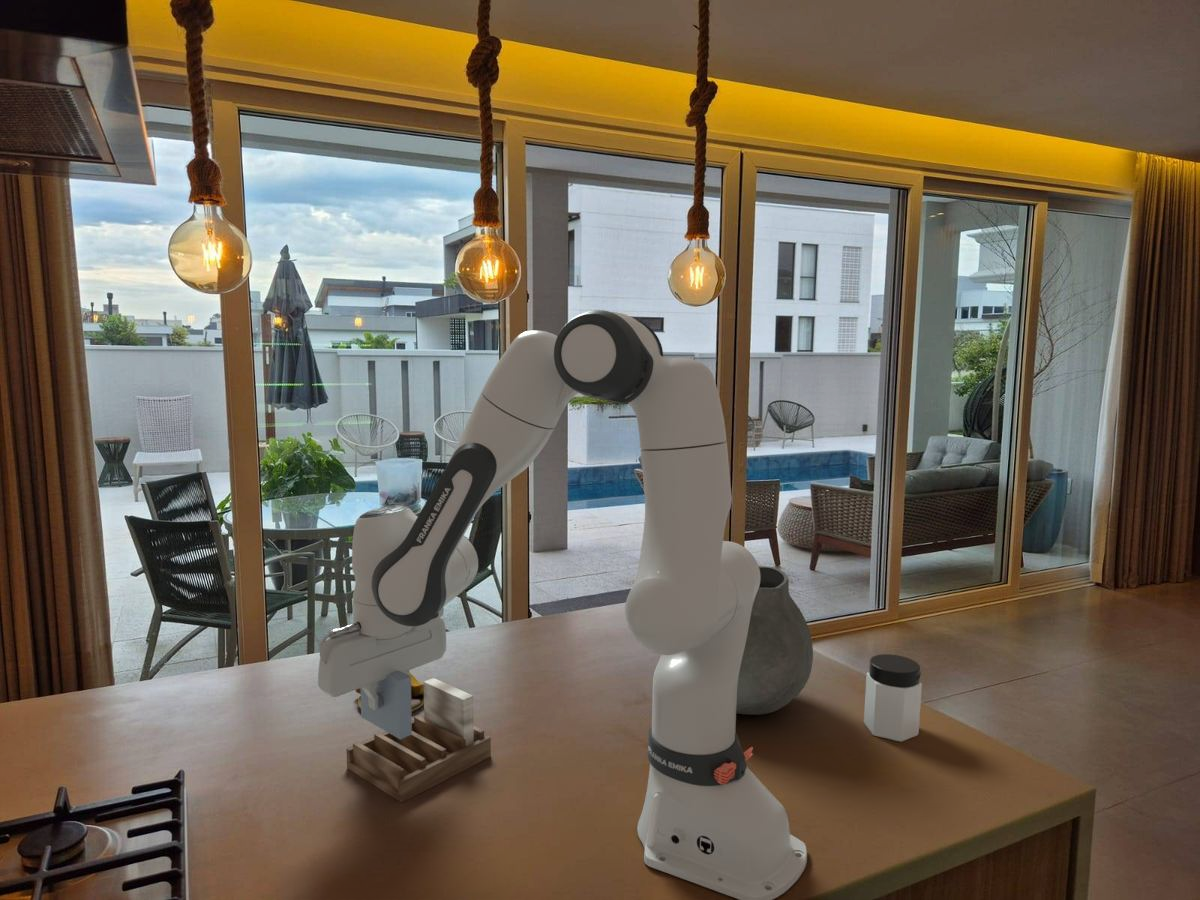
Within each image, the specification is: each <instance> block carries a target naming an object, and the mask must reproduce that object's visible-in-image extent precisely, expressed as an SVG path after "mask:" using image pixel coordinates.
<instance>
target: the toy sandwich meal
mask: <svg viewBox="0 0 1200 900" xmlns="http://www.w3.org/2000/svg"><path fill="white" fill-rule="evenodd" d="M409 676H411V713H414V712H415V711H417V710H418V709H420V708H421V707H422V706H424V683H421V682H419V681H418V679H416V677H415V676H414V675H413V674H412V673H411V672H410V671H409ZM355 693H357V694H359V695H360V696H359V698H358V699H357V706H358V707H359V709H361V688H359V689H357V690H355Z"/></svg>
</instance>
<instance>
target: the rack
mask: <svg viewBox="0 0 1200 900" xmlns="http://www.w3.org/2000/svg"><path fill="white" fill-rule="evenodd" d="M423 684H424V704H423V715H421V716H420V715H416V716H414V717H413V719H411V722H412V735H409V736H407V737H405V738H403V739H398V738H397V737H395V736H393V735H392V734H390V733H388V732H386V731H384V732H381V733H380V732H377V733H374V734H373V735H374V736H373V737H371V738H368V739H366V740H365V739H364V741H361V742H359V741H356V742H353V743H352V746H350V747H346V766H347V767H346V769H348V770H349V771H351V772H353V773H355V775H357V776H359V777H360V778H362V779H364V780H365V781H367V783H370V784H372V786H375V787H376V788H377V789H379V790H381V791H382V792H384V793H386V794H387V795H388V796H391V797H392V798H393V799H395V800H396V801H398V802H400V803H405V802H406V801H408V800H410V799H412V798H414V797H415V796H417V795H419V794H422V793H424V792H425V791H427V790H429V789H431V788H433V787H434V786H437V785H439V784H440V783H443V782H444V781H446V780H448V779H450V778H452V777H454V776H457V775H458V774H460V773H461V772H464V771H465V770H467V769H469V768H471V767H473V766H475V765H477V764H479V763H481V762H482V761H485V760H486V759H488V758H490V757H492V742H491V741H492V737H491V736H489V735H485V730H484V729H482V728H479V727H478V726H475V725H474V717H475V716H474V695H473V694H470V693H468V692H466V691H464V690H461V689H459V688H457V687H455V686H453V685H450V684H448V683H445V682H443V681H441V680H439V679H437V678H435V677H432V678H429V679H426V680H424V681H423Z"/></svg>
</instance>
